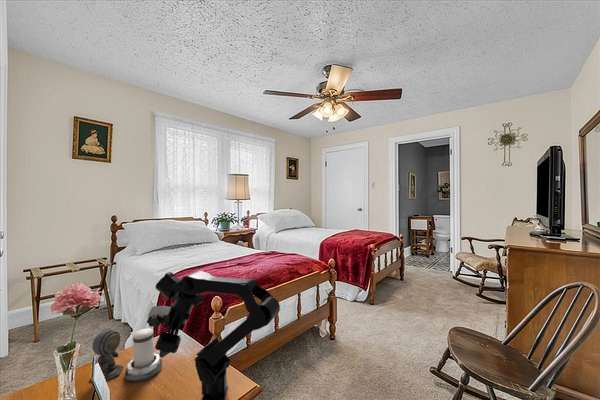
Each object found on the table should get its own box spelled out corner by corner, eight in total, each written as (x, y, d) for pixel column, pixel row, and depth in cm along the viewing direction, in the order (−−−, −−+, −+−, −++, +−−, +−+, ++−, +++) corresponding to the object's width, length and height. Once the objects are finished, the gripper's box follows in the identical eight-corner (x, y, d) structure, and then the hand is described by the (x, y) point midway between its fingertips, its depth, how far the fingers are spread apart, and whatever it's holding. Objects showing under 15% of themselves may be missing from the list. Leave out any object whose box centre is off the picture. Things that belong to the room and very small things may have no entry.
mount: (167, 360, 100) (166, 350, 99) (153, 381, 89) (153, 370, 88) (135, 361, 99) (135, 352, 99) (118, 383, 88) (117, 372, 88)
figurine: (107, 385, 87) (105, 339, 86) (82, 380, 89) (80, 336, 88) (129, 367, 95) (128, 326, 95) (105, 364, 97) (104, 323, 97)
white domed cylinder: (154, 359, 98) (154, 326, 97) (153, 369, 92) (152, 335, 92) (135, 364, 95) (134, 330, 95) (132, 374, 90) (131, 339, 89)
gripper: (164, 282, 92) (149, 318, 95) (145, 322, 75) (127, 364, 78) (197, 291, 96) (180, 326, 99) (186, 331, 78) (166, 372, 81)
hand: (165, 345), depth 89 cm, fingers open, 9 cm apart
